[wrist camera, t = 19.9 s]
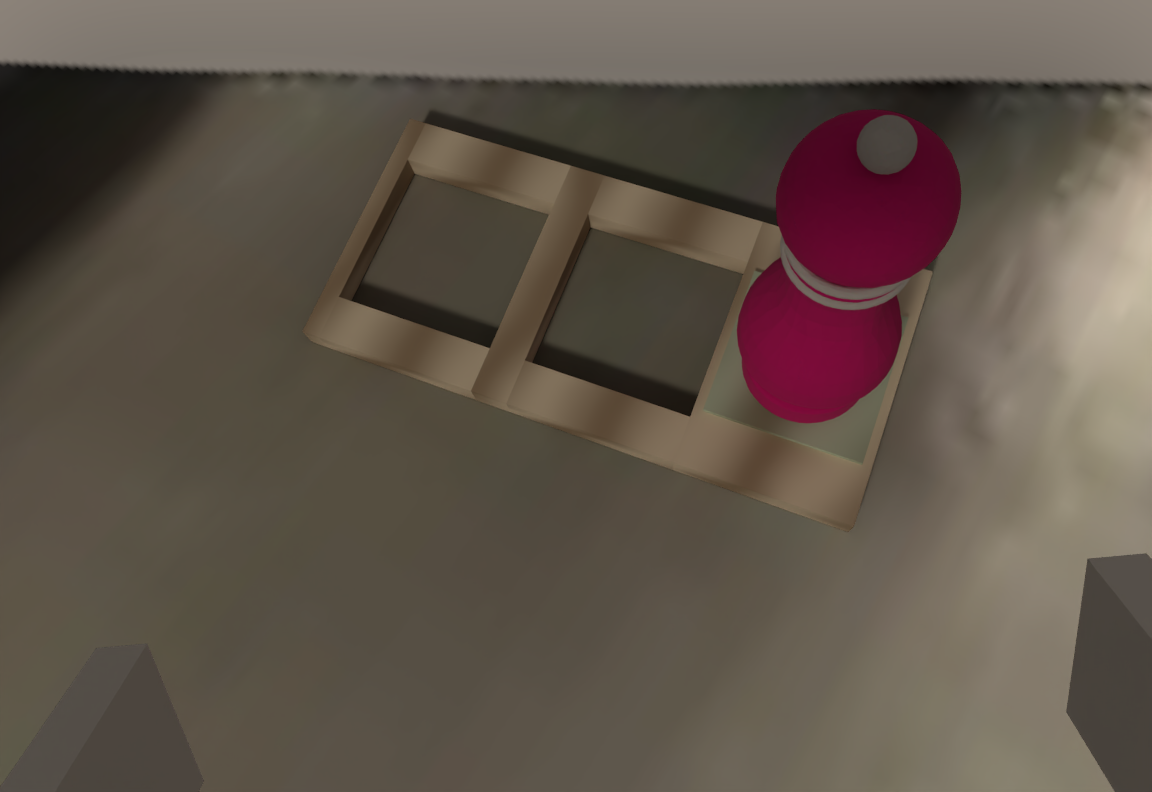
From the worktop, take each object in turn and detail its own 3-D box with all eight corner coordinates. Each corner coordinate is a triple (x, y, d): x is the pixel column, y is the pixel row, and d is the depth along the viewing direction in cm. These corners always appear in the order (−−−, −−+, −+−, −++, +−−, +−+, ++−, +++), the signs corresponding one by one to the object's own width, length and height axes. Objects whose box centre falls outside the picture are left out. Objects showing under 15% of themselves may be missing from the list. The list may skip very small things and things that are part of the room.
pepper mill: (869, 446, 45) (1009, 254, 26) (720, 419, 46) (751, 216, 28) (888, 310, 47) (1029, 42, 29) (744, 287, 49) (789, 15, 30)
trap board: (312, 341, 52) (300, 329, 50) (416, 133, 56) (408, 115, 54) (848, 532, 46) (855, 525, 44) (925, 284, 50) (934, 269, 48)
